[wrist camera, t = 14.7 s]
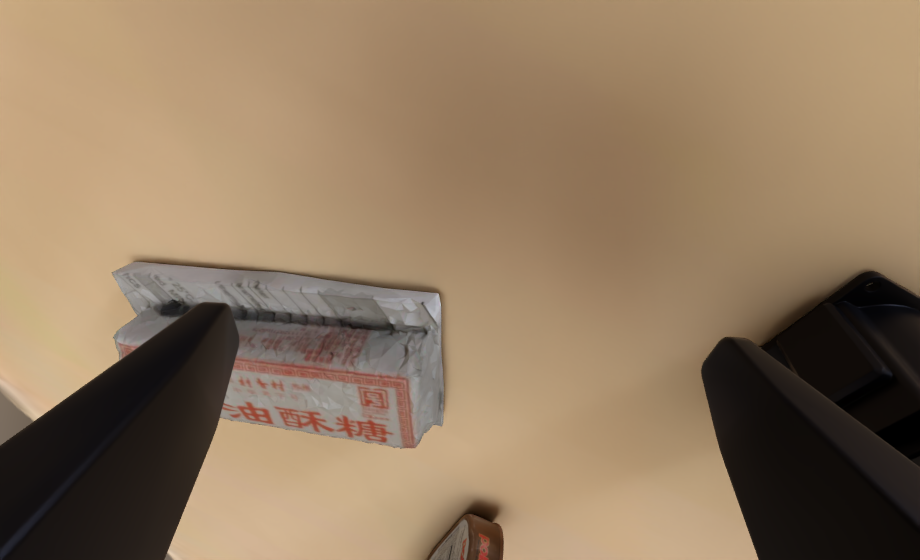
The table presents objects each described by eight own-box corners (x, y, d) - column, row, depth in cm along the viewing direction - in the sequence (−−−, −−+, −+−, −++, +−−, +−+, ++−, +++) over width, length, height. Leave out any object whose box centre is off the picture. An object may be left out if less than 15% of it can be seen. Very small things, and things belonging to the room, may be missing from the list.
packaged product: (423, 352, 19) (431, 481, 25) (444, 285, 23) (447, 410, 29) (54, 309, 22) (140, 436, 27) (130, 255, 25) (191, 376, 31)
